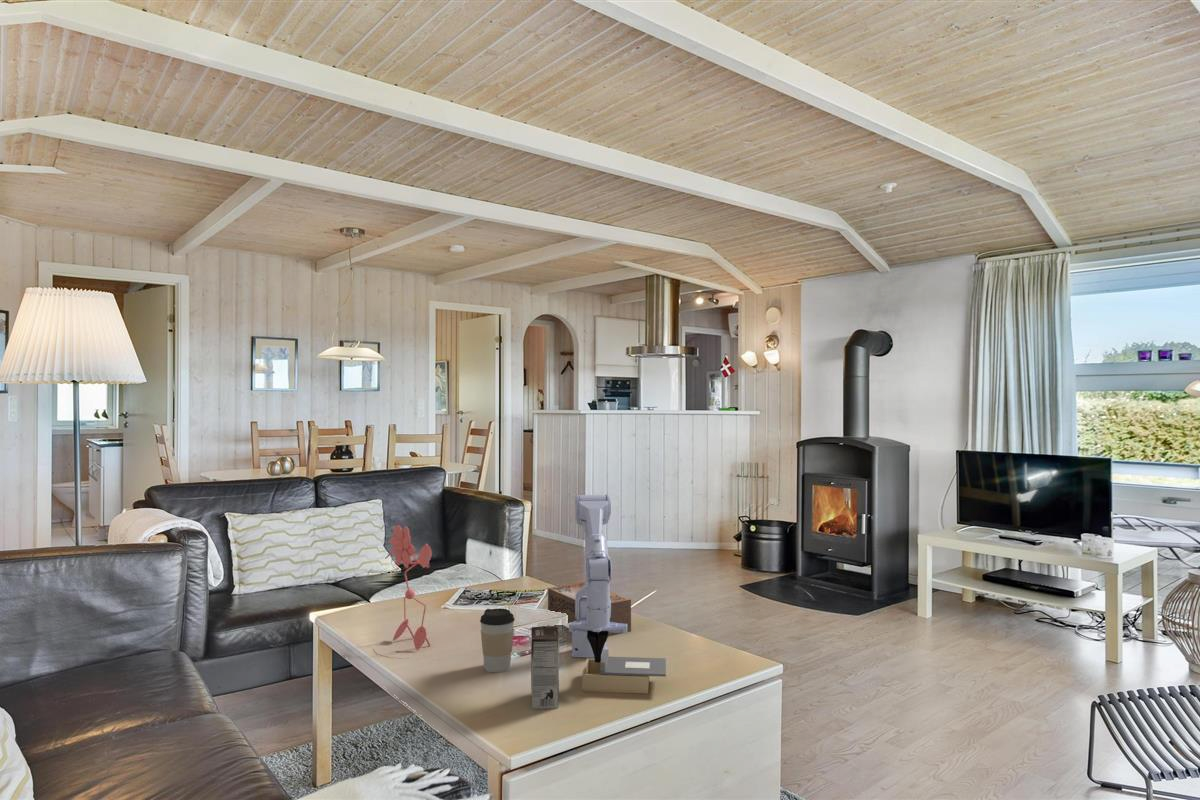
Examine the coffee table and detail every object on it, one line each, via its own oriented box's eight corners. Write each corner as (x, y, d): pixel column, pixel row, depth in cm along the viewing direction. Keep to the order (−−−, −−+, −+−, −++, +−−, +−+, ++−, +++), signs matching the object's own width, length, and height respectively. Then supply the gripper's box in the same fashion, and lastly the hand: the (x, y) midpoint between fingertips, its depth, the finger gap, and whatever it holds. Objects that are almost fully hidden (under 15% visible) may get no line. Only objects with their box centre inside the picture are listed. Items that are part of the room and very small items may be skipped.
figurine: (403, 630, 223) (401, 516, 223) (448, 652, 204) (445, 527, 204) (354, 643, 213) (352, 523, 212) (397, 667, 194) (395, 535, 193)
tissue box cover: (548, 619, 237) (548, 588, 237) (585, 611, 245) (585, 582, 245) (591, 640, 215) (591, 606, 215) (631, 632, 223) (631, 599, 223)
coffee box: (531, 693, 176) (531, 626, 176) (558, 692, 176) (558, 625, 176) (530, 709, 167) (530, 638, 167) (559, 708, 167) (559, 637, 167)
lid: (599, 674, 177) (599, 663, 177) (603, 658, 188) (603, 648, 188) (665, 676, 175) (665, 666, 175) (665, 660, 186) (665, 650, 186)
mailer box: (581, 691, 177) (581, 674, 177) (586, 674, 188) (586, 658, 188) (648, 693, 176) (648, 676, 176) (649, 676, 187) (649, 660, 187)
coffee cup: (520, 663, 196) (520, 607, 196) (505, 675, 187) (505, 617, 187) (489, 659, 199) (490, 604, 199) (473, 671, 190) (473, 613, 190)
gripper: (566, 610, 179) (566, 665, 179) (626, 611, 178) (626, 667, 178) (570, 602, 186) (570, 655, 186) (627, 603, 185) (627, 657, 185)
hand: (598, 661), depth 182 cm, fingers closed
